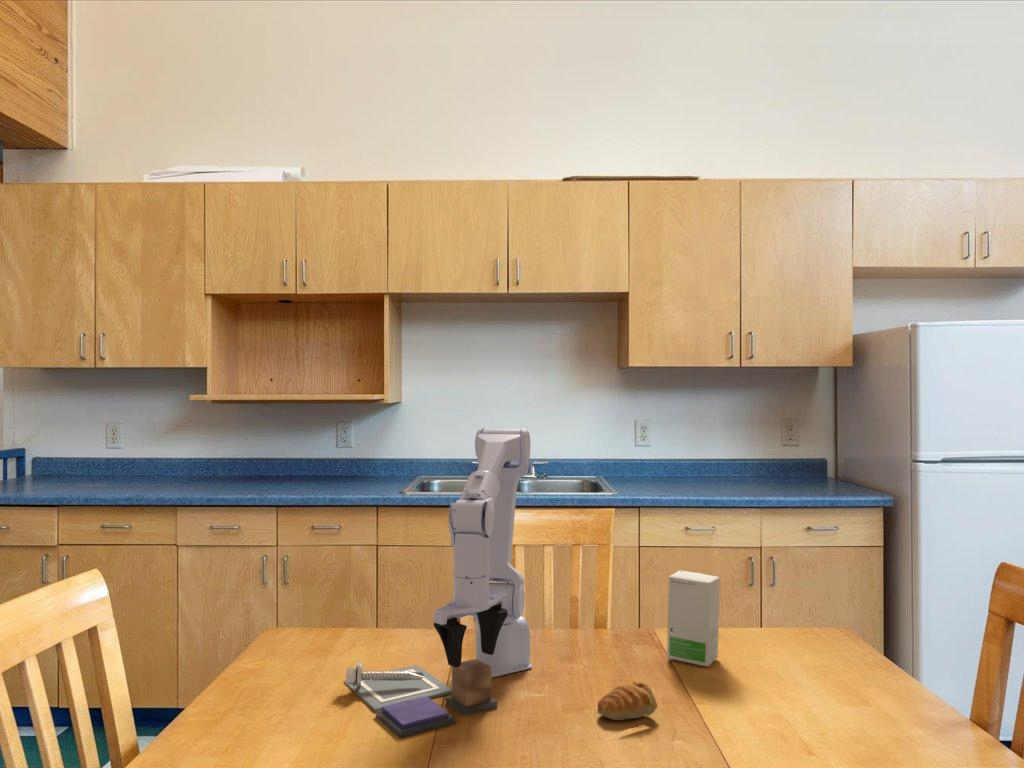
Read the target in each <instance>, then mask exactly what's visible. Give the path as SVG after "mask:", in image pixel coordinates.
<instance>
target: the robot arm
mask: <svg viewBox="0 0 1024 768" xmlns="http://www.w3.org/2000/svg"><path fill="white" fill-rule="evenodd" d="M530 435H531V434H530V432H529V431H528V429H527V428H526V427H523V428H485V427H480V428H479V429H478V430H477V432H476V435H475V438H474V439H475V440H474V452H475V453H474V454H475V456H476V457H477V458H476V459H477V461H478V466H477V470H476V471H473V472H472V473H471V474H470V475H469V476H468V477H467V481H466V483H465V485H464V487H463V489H462V493H461V495H460V497H459V499H456V500H455V502H452V503H450V507H449V509H448V510H449V511H448V523H447V524H448V530H449V533H450V546H451V547H453V597H452V598H450V602H449V603H447V604H445V605H443V606H442V607H440V608H436V609H434V610H433V626H434V628H435V630H436V632H437V633H438V636H439V637H440V640H441V642H442V645H443V649H444V651H445V655H446V660H447V664H448V666H451V667H452V666H453V667H456V668H457V667H460V665H461V662H462V658H463V657H462V654H463V643H464V642H463V641H464V637H465V634H466V630H467V628H468V626H467V625H465V624H462V623H460V620H458V619H461V618H465V617H468V616H471V617H473V622H476V623H475V625H476V626H475V636H476V637H475V642H476V643H475V646H476V647H475V648H476V649H475V659H478V660H480V661H481V662H483V663H485V664H487V665H488V666H490V667H491V679H492V678H496V677H500V676H505V675H508V674H513V673H517V672H520V671H525V670H529V669H533V665H532V664H531V663H530V662H531V661H530V660H531V659H530V658H531V647H530V646H531V637H530V636H531V634H530V627H529V624H528V621H527V619H526V618H525V617H524V616H523V613H524V609H525V601H526V600H525V598H526V595H525V580H524V577H523V575H522V574H521V573H520V572H519V571H518V570H517V569H516V568H514V566H512V565H511V564H512V563H511V562H512V550H513V540H514V539H513V538H514V526H515V514H516V513H515V512H516V505H517V504H516V501H517V491H518V486H519V482H520V478H523V477H524V476H527V475H528V474H529V473H528V471H529V469H530V462H531V461H530V459H531V457H530V456H531V436H530Z"/></svg>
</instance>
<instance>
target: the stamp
mask: <svg viewBox="0 0 1024 768" xmlns="http://www.w3.org/2000/svg"><path fill="white" fill-rule="evenodd" d="M451 689H452V694H450V695H448V696H447V695H446V696H445V697H446V699H445V700H446V705H448V706H449V707H451V708H452V709H453V710H455V711H456V712H457V713H459V714H460V715H461V716H463V717H469V716H471V715H477V714H481V713H483V712H487V711H491V710H495V709H498V700H497V699H495V698H493V697H492V678H491V667H490V666H488V665H487V664H485V663H483V662H481V661H480V660H478V659H476V658H474V659H469V660H465V661H461V665H460V667H457V668H456V667H453V666H451Z"/></svg>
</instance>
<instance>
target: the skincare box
mask: <svg viewBox="0 0 1024 768" xmlns="http://www.w3.org/2000/svg"><path fill="white" fill-rule="evenodd" d="M720 579H721V576H716V575H711V574H705V573H701V572H693V571H686V570H680V569H679V570H678V571H676V572H675V573H673V574H671V575H669V577H668V604H667V605H668V607H667V640H666V642H667V644H666V658H667V659H669V660H675V661H680V662H684V663H689V664H692V665H693V664H694V665H698V666H703V667H706V666H708V667H709V666H710V665H711V664H712V663H713V662H714V661H715V660H716V659H717V658H718V657H719V656H718V655H719V628H720V627H719V626H720V625H719V620H720V616H719V615H720V588H721V587H720V584H721V582H720V581H721V580H720Z"/></svg>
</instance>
